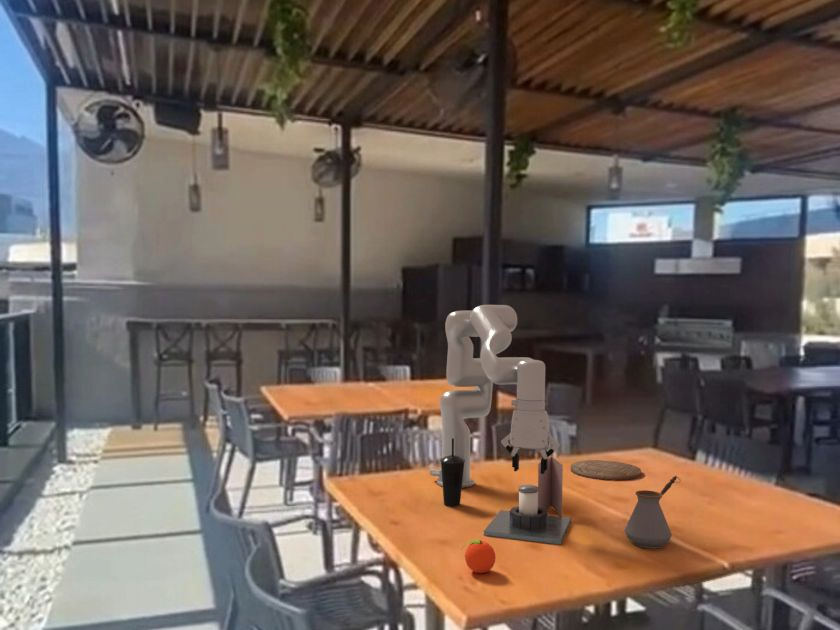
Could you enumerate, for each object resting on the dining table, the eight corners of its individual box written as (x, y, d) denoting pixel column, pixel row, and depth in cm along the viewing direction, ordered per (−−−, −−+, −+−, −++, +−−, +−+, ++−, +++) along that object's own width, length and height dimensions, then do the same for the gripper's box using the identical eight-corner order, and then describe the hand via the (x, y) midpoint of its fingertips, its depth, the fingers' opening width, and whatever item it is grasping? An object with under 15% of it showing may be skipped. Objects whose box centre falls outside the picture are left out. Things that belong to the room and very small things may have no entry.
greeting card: (548, 505, 213) (548, 456, 213) (572, 509, 209) (572, 459, 209) (534, 514, 203) (535, 463, 203) (559, 519, 199) (560, 466, 199)
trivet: (630, 485, 239) (630, 479, 239) (560, 474, 253) (560, 469, 253) (649, 471, 261) (649, 466, 261) (583, 462, 274) (583, 457, 274)
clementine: (456, 574, 157) (456, 543, 157) (465, 564, 164) (465, 533, 164) (490, 580, 154) (491, 547, 154) (498, 569, 161) (499, 538, 161)
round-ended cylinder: (517, 525, 189) (517, 488, 189) (520, 520, 194) (520, 484, 194) (536, 527, 187) (536, 490, 187) (539, 522, 192) (539, 485, 192)
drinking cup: (468, 502, 214) (469, 437, 214) (459, 509, 207) (460, 442, 207) (445, 499, 217) (446, 435, 217) (435, 506, 210) (436, 439, 210)
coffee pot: (657, 554, 172) (658, 493, 171) (615, 542, 180) (616, 484, 180) (696, 535, 186) (698, 479, 186) (656, 525, 195) (657, 471, 194)
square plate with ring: (483, 535, 184) (483, 517, 184) (500, 514, 203) (501, 497, 203) (560, 544, 178) (560, 526, 178) (570, 522, 196) (571, 505, 196)
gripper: (496, 405, 189) (495, 471, 190) (560, 409, 183) (559, 477, 184) (502, 402, 196) (501, 465, 197) (564, 405, 191) (563, 471, 191)
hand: (529, 470), depth 190 cm, fingers open, 6 cm apart
